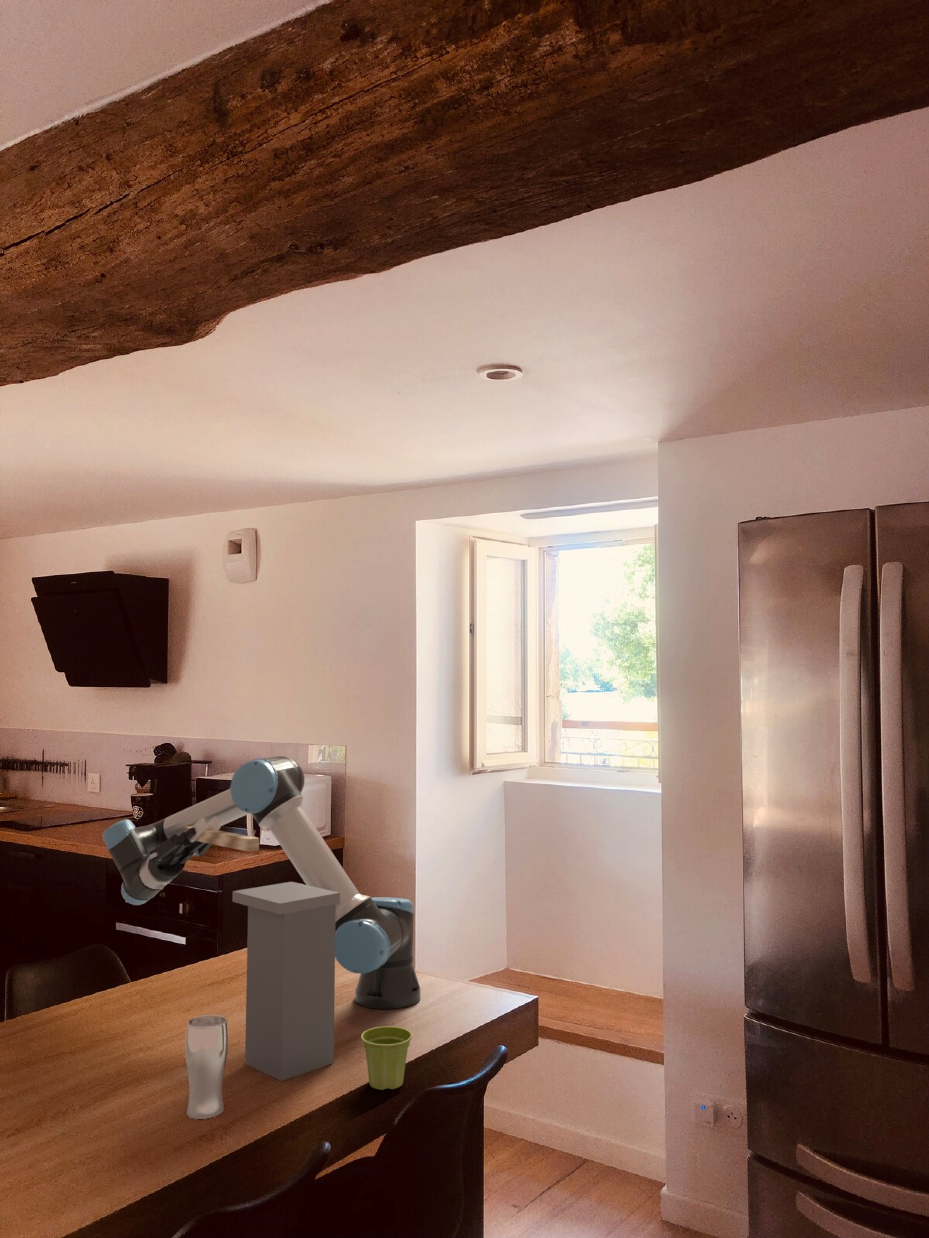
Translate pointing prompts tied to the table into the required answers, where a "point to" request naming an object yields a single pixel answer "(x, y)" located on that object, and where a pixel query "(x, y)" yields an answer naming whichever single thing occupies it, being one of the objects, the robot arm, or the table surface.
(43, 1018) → the table surface
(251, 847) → the wooden bar
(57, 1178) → the table surface
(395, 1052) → the plant pot
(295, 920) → the grey stand
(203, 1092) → the beer glass
